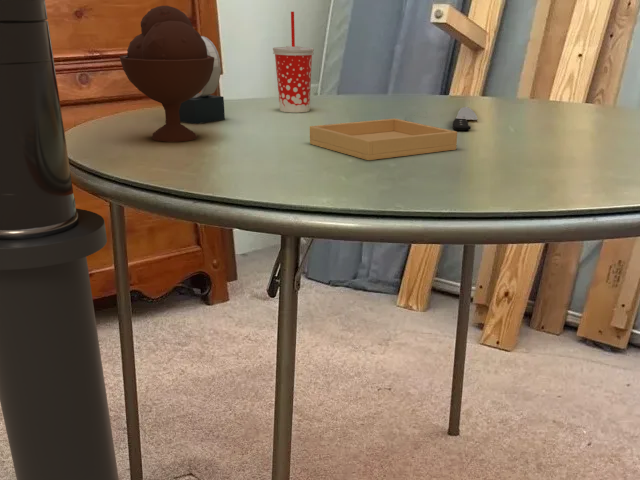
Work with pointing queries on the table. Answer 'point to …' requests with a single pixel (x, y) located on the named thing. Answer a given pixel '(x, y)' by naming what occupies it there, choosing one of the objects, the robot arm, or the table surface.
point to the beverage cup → (293, 75)
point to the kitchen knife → (464, 119)
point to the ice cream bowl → (168, 66)
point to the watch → (205, 96)
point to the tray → (383, 138)
